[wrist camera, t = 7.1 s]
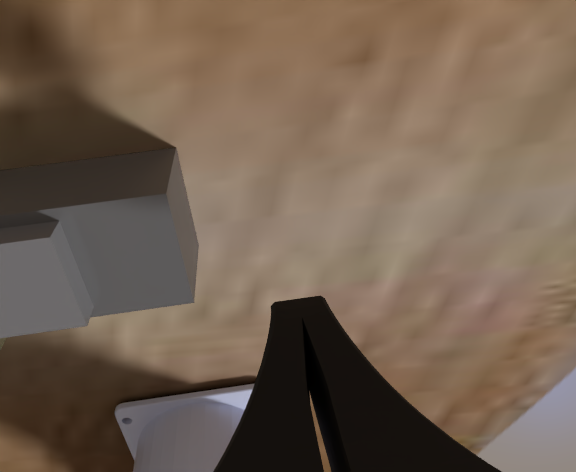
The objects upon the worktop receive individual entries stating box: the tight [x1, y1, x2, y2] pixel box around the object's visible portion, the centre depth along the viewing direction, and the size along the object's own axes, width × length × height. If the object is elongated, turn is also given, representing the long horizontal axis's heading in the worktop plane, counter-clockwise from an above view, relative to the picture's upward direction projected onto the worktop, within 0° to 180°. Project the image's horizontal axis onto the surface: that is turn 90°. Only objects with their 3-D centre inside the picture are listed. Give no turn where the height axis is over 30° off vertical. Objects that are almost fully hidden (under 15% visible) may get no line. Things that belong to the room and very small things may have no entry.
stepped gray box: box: [0, 148, 199, 338], centre depth 18 cm, size 4×7×5 cm, turn 95°
